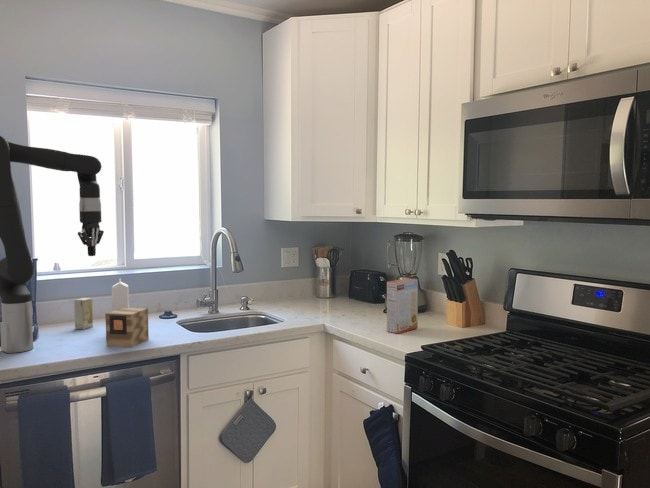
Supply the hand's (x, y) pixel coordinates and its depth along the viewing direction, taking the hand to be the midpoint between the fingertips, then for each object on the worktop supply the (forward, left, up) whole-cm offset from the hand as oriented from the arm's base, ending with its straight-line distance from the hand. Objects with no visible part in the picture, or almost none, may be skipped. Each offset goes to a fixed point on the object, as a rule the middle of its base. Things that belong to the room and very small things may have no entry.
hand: (91, 255), depth 205 cm
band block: (+6, -15, -32) cm, 36 cm away
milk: (+12, +2, -32) cm, 34 cm away
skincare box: (+6, +22, -32) cm, 39 cm away
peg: (+6, -15, -26) cm, 30 cm away
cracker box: (+92, -79, -32) cm, 126 cm away
